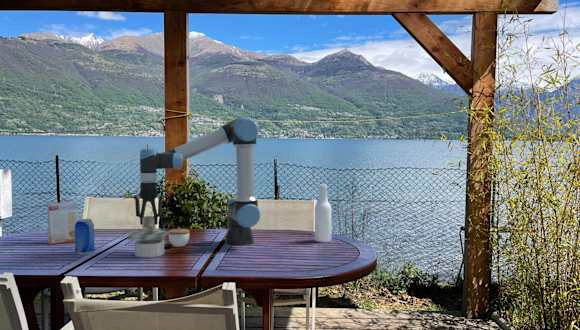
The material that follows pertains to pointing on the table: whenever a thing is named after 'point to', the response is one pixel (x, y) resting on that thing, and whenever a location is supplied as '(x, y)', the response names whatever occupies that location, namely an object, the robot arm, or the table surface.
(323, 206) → the alcohol
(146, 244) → the bowl
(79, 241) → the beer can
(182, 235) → the lidded jar
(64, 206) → the cracker box
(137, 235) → the lid
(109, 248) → the table surface
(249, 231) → the robot arm
